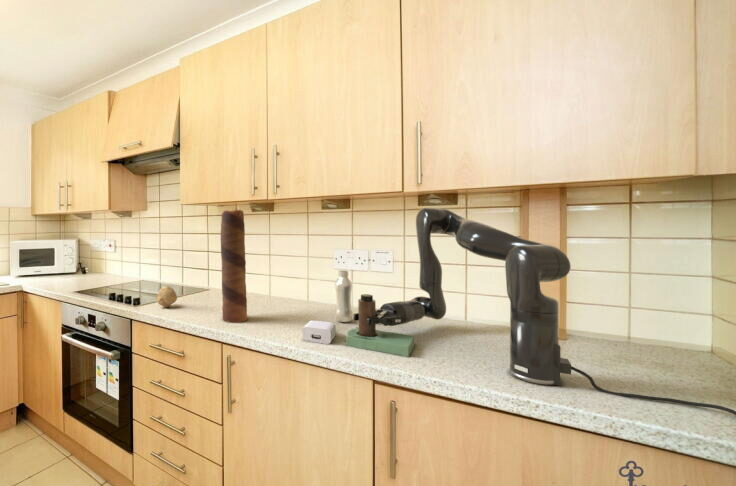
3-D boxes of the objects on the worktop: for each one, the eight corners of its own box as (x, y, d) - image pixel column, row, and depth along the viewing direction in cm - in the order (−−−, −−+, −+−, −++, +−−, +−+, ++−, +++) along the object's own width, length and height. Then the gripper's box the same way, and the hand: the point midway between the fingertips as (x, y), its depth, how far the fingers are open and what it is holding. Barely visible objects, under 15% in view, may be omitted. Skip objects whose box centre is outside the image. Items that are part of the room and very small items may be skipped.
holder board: (414, 345, 115) (414, 335, 115) (408, 357, 105) (408, 346, 105) (353, 334, 126) (353, 326, 126) (342, 344, 116) (342, 335, 116)
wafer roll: (223, 324, 142) (221, 209, 141) (220, 317, 152) (218, 210, 151) (249, 322, 143) (248, 209, 142) (244, 315, 154) (243, 210, 153)
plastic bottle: (340, 324, 139) (340, 272, 139) (332, 319, 146) (331, 270, 145) (356, 323, 140) (355, 272, 140) (346, 318, 147) (346, 269, 146)
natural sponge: (180, 305, 174) (180, 285, 173) (171, 310, 165) (170, 288, 165) (164, 304, 177) (164, 284, 177) (154, 308, 169) (153, 287, 169)
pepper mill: (377, 342, 118) (377, 294, 118) (373, 346, 114) (373, 297, 114) (361, 339, 121) (360, 293, 121) (356, 343, 117) (356, 295, 117)
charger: (339, 331, 130) (330, 344, 117) (313, 328, 134) (302, 340, 121) (338, 318, 130) (330, 329, 117) (313, 315, 134) (302, 326, 121)
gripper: (380, 298, 130) (344, 303, 123) (416, 306, 117) (379, 313, 110) (380, 319, 130) (344, 325, 123) (416, 329, 117) (379, 337, 110)
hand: (361, 319), depth 116 cm, fingers closed on pepper mill, 5 cm apart
